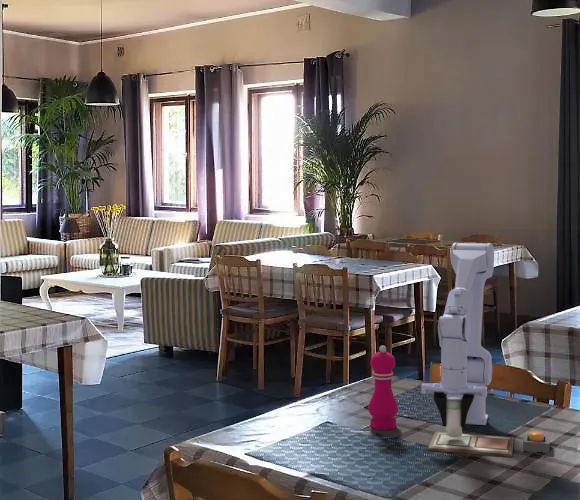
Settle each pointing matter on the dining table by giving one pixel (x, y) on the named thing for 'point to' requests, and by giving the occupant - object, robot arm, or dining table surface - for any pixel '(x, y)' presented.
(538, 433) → the button
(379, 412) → the pepper mill
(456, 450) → the picture board
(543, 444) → the button housing
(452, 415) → the white and green cylinder
